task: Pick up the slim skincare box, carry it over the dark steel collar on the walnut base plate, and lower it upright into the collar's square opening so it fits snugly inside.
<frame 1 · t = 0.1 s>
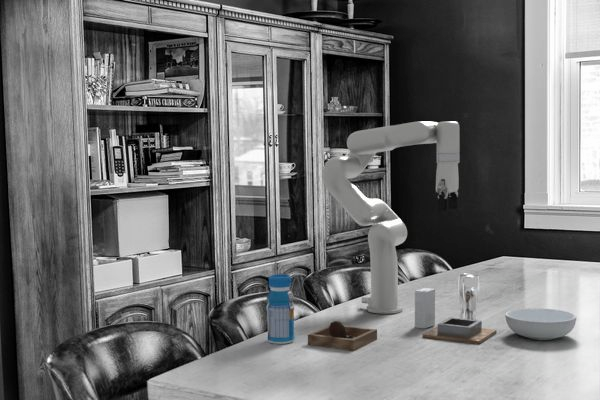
hand: (448, 209, 276), 37 cm above the table, tool pointing down, fingers open, 9 cm apart
beverage bottle: (281, 341, 250), on the table
compass: (342, 342, 248), resting in watch frame
watch frame: (342, 341, 248), on the table
steel collar: (459, 335, 254), on the table
serving bowl: (540, 337, 251), on the table
beer glass: (468, 320, 275), on the table
skincare box: (424, 327, 266), on the table
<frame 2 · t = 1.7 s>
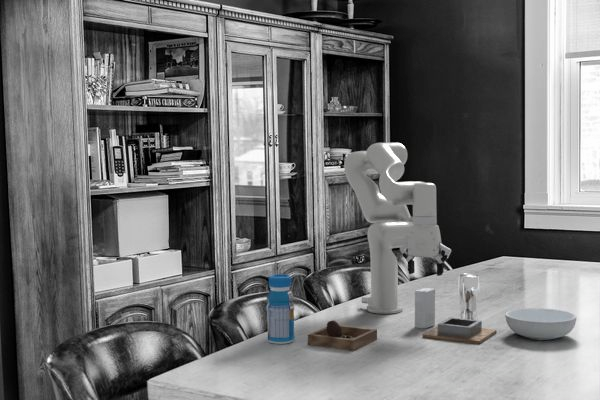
hand: (425, 274, 264), 17 cm above the table, tool pointing down, fingers open, 9 cm apart
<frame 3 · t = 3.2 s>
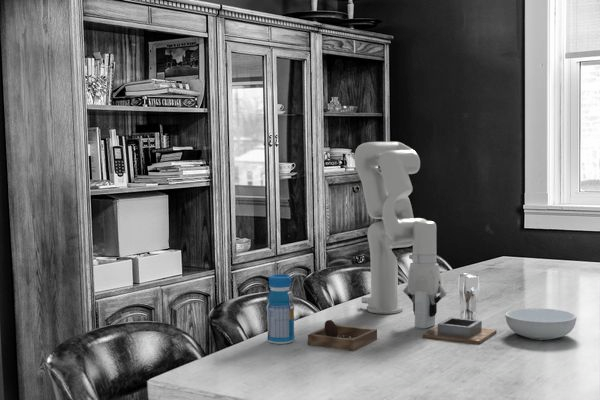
hand: (424, 314, 266), 4 cm above the table, tool pointing down, fingers closed on skincare box, 4 cm apart
skincare box: (425, 327, 266), on the table, touching gripper
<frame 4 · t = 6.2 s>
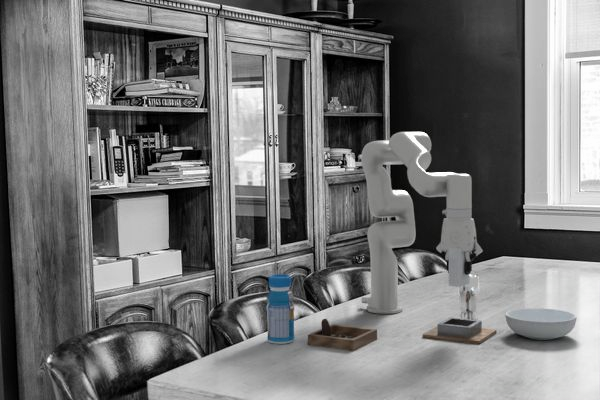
hand: (459, 272, 252), 19 cm above the table, tool pointing down, fingers closed on skincare box, 4 cm apart
compass: (334, 341, 250), resting in watch frame
skincare box: (459, 285, 253), point 15 cm above the table, touching gripper
everything else where it was.
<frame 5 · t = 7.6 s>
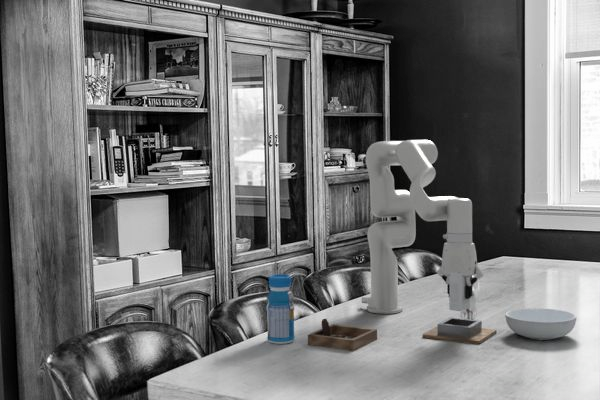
hand: (459, 296, 253), 12 cm above the table, tool pointing down, fingers closed on skincare box, 4 cm apart
skincare box: (460, 310, 253), point 8 cm above the table, touching gripper
everything else where it was.
when the fingers open (7 cm above the table, at t = 8.9 s): skincare box drops 2 cm, resting on steel collar.
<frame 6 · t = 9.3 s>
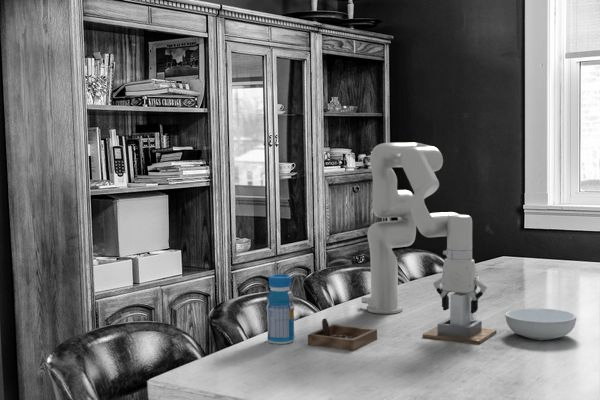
hand: (459, 310, 253), 8 cm above the table, tool pointing down, fingers open, 8 cm apart
skincare box: (460, 332, 254), point 1 cm above the table, touching steel collar
everything else where it was.
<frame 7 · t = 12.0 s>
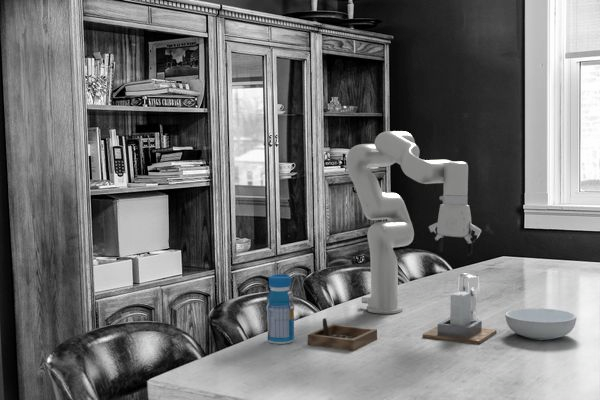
hand: (454, 253, 262), 24 cm above the table, tool pointing down, fingers open, 9 cm apart
nothing on the table moved.
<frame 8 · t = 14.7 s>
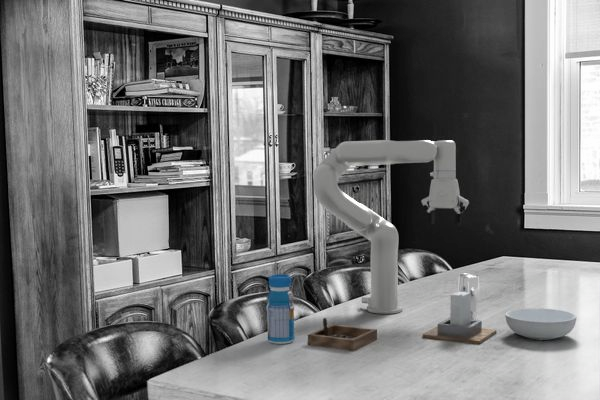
hand: (444, 224, 290), 30 cm above the table, tool pointing down, fingers open, 9 cm apart
at the end: skincare box 0.2 cm off-centre on the steel collar, point 0.8 cm above the steel collar's base; skincare box tilted 0°; the gripper is holding nothing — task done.
